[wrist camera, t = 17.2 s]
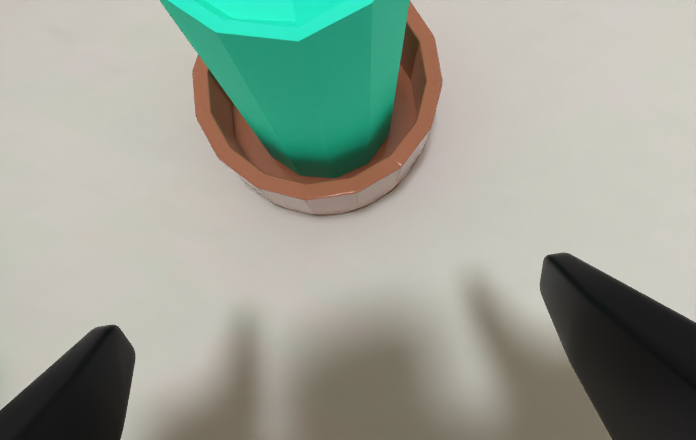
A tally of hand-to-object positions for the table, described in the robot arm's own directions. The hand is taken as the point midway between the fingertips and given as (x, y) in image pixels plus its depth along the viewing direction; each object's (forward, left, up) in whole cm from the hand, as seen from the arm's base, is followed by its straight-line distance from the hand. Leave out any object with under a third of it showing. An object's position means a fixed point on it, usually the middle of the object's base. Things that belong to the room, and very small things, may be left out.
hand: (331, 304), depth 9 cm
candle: (+7, -3, -9) cm, 12 cm away
